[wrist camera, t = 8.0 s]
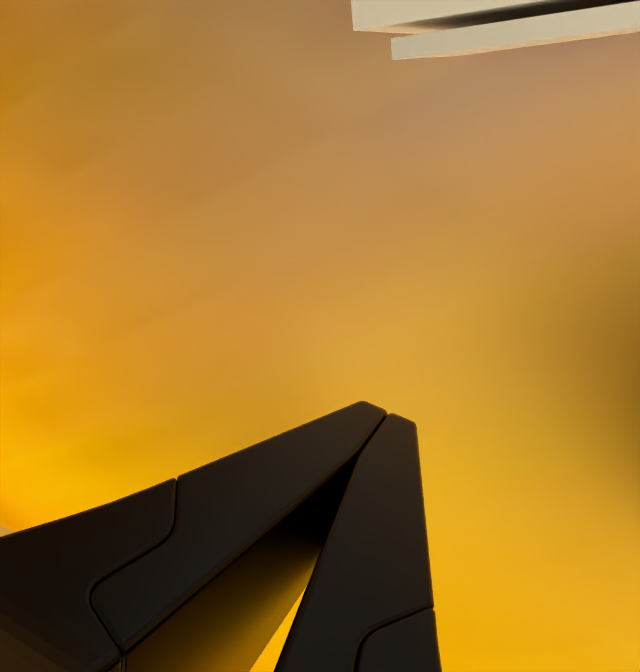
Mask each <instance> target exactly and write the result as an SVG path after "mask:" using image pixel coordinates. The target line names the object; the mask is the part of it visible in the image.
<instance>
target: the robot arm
mask: <svg viewBox="0 0 640 672" xmlns="http://www.w3.org/2000/svg"><path fill="white" fill-rule="evenodd" d="M306 586H307V587H306ZM305 587H306V590H305V592H304V595H303V597H302V600H301V602H300V605H299V608H298V610H297V613H296V615H295V618H294V620H293V623H292V626H291V628H290V631H289V633H288V636H287V638H286V641H285V644H284V646H283V649H282V651H281V654H280V656H279V659H278V662H277V664H276V667H275V669H274V672H442V668H441V660H440V653H439V646H438V638H437V627H436V617H435V611H434V610H433V608H434V600H433V590H432V580H431V570H430V559H429V549H428V539H427V529H426V518H425V508H424V498H423V488H422V477H421V467H420V457H419V447H418V437H417V427H416V424H415V423H414V422H413V421H411V420H408V419H406V418H403V417H401V416H399V415H396V414H394V413H390V414H388V415H387V412H386V410H384V409H382V408H380V407H377V406H375V405H373V404H370V403H368V402H365V401H359V402H357V403H354V404H352V405H349V406H347V407H345V408H342V409H340V410H337V411H335V412H332V413H330V414H328V415H325V416H323V417H320V418H318V419H315V420H313V421H311V422H308V423H306V424H303V425H301V426H298V427H296V428H294V429H291V430H289V431H286V432H284V433H281V434H279V435H277V436H274V437H272V438H269V439H267V440H264V441H262V442H260V443H257V444H255V445H252V446H250V447H247V448H245V449H243V450H240V451H238V452H235V453H233V454H230V455H228V456H226V457H223V458H221V459H218V460H216V461H213V462H211V463H209V464H206V465H204V466H201V467H199V468H196V469H194V470H192V471H189V472H187V473H184V474H182V475H179V476H178V477H177V480H176V479H175V478H172V479H169V480H167V481H164V482H162V483H159V484H157V485H155V486H152V487H150V488H147V489H144V490H142V491H139V492H137V493H134V494H131V495H129V496H126V497H123V498H121V499H118V500H116V501H113V502H110V503H107V504H104V505H101V506H98V507H95V508H92V509H89V510H86V511H83V512H80V513H77V514H74V515H71V516H68V517H64V518H61V519H58V520H54V521H51V522H48V523H45V524H41V525H38V526H35V527H31V528H28V529H25V530H21V531H18V532H15V533H11V534H8V535H5V536H2V537H0V672H249V671H250V669H251V668H252V666H253V665H254V663H255V662H256V660H257V659H258V657H259V656H260V654H261V653H262V651H263V650H264V648H265V647H266V645H267V644H268V642H269V641H270V639H271V638H272V636H273V635H274V633H275V632H276V630H277V629H278V627H279V626H280V624H281V623H282V621H283V620H284V618H285V617H286V615H287V614H288V613H289V611H290V610H291V608H292V607H293V605H294V604H295V602H296V601H297V599H298V598H299V596H300V595H301V593H302V592H303V590H304V589H305Z"/></svg>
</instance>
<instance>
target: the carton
mask: <svg viewBox="0 0 640 672" xmlns="http://www.w3.org/2000/svg"><path fill="white" fill-rule="evenodd" d="M351 8H352V20H353V31H369V32H387V33H406V34H417V35H410V36H403V37H397V38H391V51H392V60H397V59H413V58H430V57H447V56H461V55H469V54H476V53H484V52H491V51H499V50H507V49H514V48H522V47H529V46H537V45H544V44H552V43H560V42H567V41H575V40H582V39H590V38H598V37H605V36H613V35H620V34H628V33H635V32H640V0H351Z"/></svg>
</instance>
